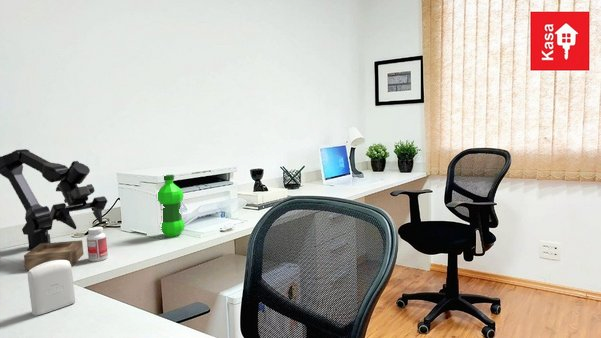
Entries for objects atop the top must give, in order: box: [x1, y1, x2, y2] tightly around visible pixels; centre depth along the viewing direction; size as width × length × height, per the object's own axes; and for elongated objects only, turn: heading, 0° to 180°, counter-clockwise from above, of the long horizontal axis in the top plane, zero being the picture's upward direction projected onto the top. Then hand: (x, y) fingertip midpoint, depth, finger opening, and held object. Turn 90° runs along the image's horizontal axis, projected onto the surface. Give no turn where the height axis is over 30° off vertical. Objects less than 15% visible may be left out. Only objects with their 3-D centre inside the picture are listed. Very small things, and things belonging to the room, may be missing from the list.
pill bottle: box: [86, 226, 109, 262], centre depth 155 cm, size 6×6×11 cm
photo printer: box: [27, 260, 76, 316], centre depth 114 cm, size 10×4×12 cm, turn 140°
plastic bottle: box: [157, 174, 186, 238], centre depth 182 cm, size 10×10×25 cm
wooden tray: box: [23, 239, 85, 271], centre depth 153 cm, size 14×14×5 cm
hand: (88, 225), depth 157 cm, fingers open, 9 cm apart
